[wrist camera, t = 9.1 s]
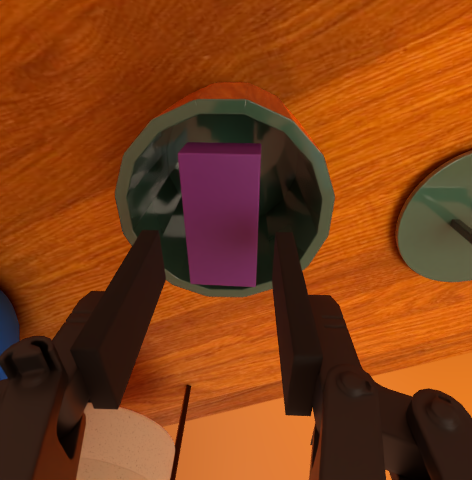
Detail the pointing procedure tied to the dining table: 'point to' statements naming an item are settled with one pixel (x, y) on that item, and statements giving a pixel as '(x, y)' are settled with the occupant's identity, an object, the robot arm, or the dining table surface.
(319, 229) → the cylinder
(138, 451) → the planter
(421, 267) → the lid
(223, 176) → the purple rectangular block
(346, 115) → the dining table surface
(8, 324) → the vase
